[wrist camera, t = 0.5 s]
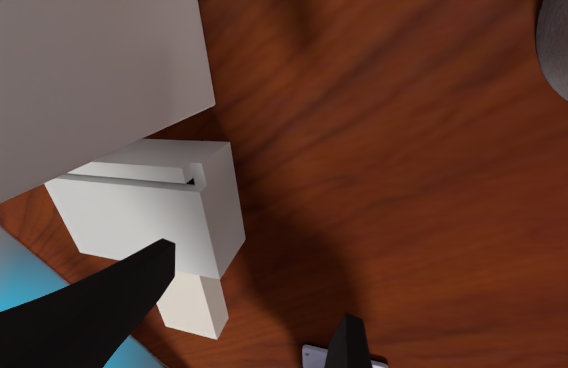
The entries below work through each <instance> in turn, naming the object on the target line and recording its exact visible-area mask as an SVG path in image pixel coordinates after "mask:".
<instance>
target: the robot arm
mask: <svg viewBox="0 0 568 368" xmlns="http://www.w3.org/2000/svg"><path fill="white" fill-rule="evenodd" d="M175 250H176V243H173V242H171V241H168V240H166V239H164V238H162V239H160V240H158V241H156V242H154V243H152V244H150V245H148V246H147V247H145V248H143V249H141V250H139V251H137V252H136V253H134V254H132V255H130V256H128V257H126V258H124V259H122V260H121V261H119V262H117V263H115V264H113V265H111V266H109V267H107V268H105V269H103V270H101V271H99V272H97V273H95V274H93V275H91V276H88V277H86V278H84V279H82V280H80V281H78V282H76V283H73V284H71V285H69V286H67V287H64V288H62V289H60V290H58V291H55V292H53V293H50V294H48V295H45V296H43V297H40V298H38V299H35V300H32V301H30V302H27V303H24V304H21V305H19V306H16V307H13V308H10V309H8V310H5V311H2V312H0V368H103V367H104V365H105V364H106V363H107V361H108V360H109V358H110V357H111V356H112V355H113V353H114V352H115V351H116V350H117V348H118V347H119V346H120V345H121V344H122V343H123V342H124V340H125V339H126V338H127V337H128V336H129V335H130V333H131V332H132V331H133V330H134V329H135V328H136V326H137V325H138V324H139V323H140V322H141V321H142V319H143V318H144V317H145V316H146V315H147V314H148V312H149V311H150V310H151V309H152V308H153V306H154V305H155V304H156V303H157V302H158V301H159V299H160V298H161V297H162V295H163V294H164V292H165V291H166V289H167V288H168V286H169V285H170V283H171V282H172V280H173V279H174V277H175ZM302 357H303V368H389V367H388V365H386V364H384V363H381V362H377V361H372V360H371V358H370V353H369V349H368V344H367V339H366V333H365V327H364V322H363V320H362V319H360V318H358V317H355V316H353V315H351V314H348V313H346V314H345V316H344V317H343V319H342V321H341V323H340V325H339V326H338V328H337V330H336V332H335V333H334V335H333V337H332V339H331V341H330V343H329V347H328V350H327V349H323V348H319V347H315V346H310V345H304V346H303V348H302Z"/></svg>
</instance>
